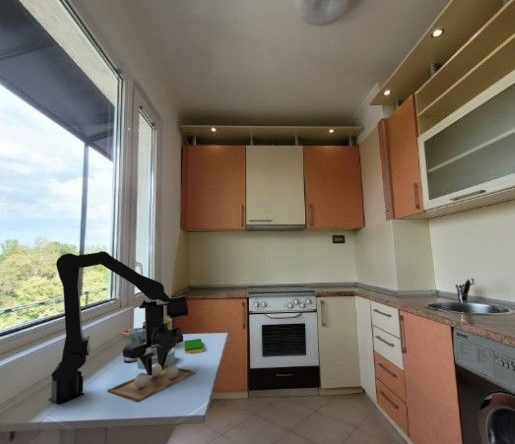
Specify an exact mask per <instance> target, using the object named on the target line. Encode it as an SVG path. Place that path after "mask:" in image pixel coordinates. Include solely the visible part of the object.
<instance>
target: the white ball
mask: <svg viewBox="0 0 515 444" xmlns="http://www.w3.org/2000/svg"><path fill="white" fill-rule="evenodd" d="M161 372H162V366H161V365H160V364H158V363H156V364H153V365H152V375H151V376H152V377H157V376H159V375H160V374H161Z"/></svg>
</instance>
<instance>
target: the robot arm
mask: <svg viewBox="0 0 515 444" xmlns="http://www.w3.org/2000/svg"><path fill="white" fill-rule="evenodd" d="M55 265H56V270H57V274H58V278H59V279H60V282H61V285H62V290H63V291H62V292H63V304H64V305H63V306H64V307H63V308H64V321H65V322H64V324H65V340H64V345H63V349H62V354H61V356H62V357H61V361H60V362H59V363H58V364H56V367H55V368H54V370H53V371H52V373H51V389H50V390H51V391H50V393H51V394H50V395H51V397H50V398H48V399H47V400H48V401H49V402H51V403H53V404H55V405H58V406H60V405H63V404H65V403H67V402H70V401H72V400H74V399H77V398H81V397H82V396H84V395H85V393H84V375H82V371H81V370H79V369H81V368H82V367H83V366H84V365H85V364H86V361H87V359H88V356H90V353H91V350H92V348H91V347H90V339H91V336H86V337H85V334H84V332H83V325H82V322H83V321H82V310H81V309H82V308H81V307H82V306H81V292H80V282H81V277H82V272H83V269H84V268H90V267H94V266H99V265H101V266H103V267H105V268H106V269H108V270H109V271H111V272H112V273H114V274H116V275H118V276H119V277H120V278H122V279H124V280H126V281H127V282H129V283H131V284H133V286H134V287H135V288H137V289H138V290H139V291H140V292H141V293H142V294H143V295H144V296H145V297H146V298H148V299H149V300H151V301H146V300H145V299H143V300H142V301H141V303H140V304H139V305H138V308H139V309H142V310H143V309H144V322H145V325H143V324H142V328H143V329H145V338H144V339H143V342H144V343H145V344H137V343H135V344H131V345H128V346H126V345H125V346H124V348H122V349H123V350H122V358H124V357H127V358H132V359H134V358H138V357H139V359H140V360H141V362H142V363H143V365H144V367H145V369H146V370H145V371H146V373H148V375H150V376H151V375H152V357H153V355H154V353H151V348H154V347H156V349H157V357H158V364H160V365H161V366H162V370H163V368H164V364H165V361H166V358H167V355H168V352H169V351H170V350H171V349H172V348H175V347H176V346H177V344H180V343H184V335H183V333H182V329H181V328H180V327H175V328H172V329H169V327H168V328H167V323H164V319H165V316H166V317H168V319H171V320H172V319H178V318H184V317H185V318H186V317H188V315H189V306H188V302H187V301H188V300H187V295H180V296H175V297H170V296H169V295H168V294H166V292H165V287H164V285H163V284H162V282H160V281H157V280H155V279H152V278H150V277H148V276H145V275H142V274H140V273H139V272H137V271H135V270H134V269H132V268H131V267H129V266H128V265H126V264H125V263H123V262H121V261H120V260H118V259H116V258H115V257H113V256H112V255H110V254H109V252H107V251H104V250H103V251H102V250H100V251H98V252H92V253H85V254H84V253H83V254H78V255H77V254H74V253H69V252H68V253H64V254H62V255H60V256H59V257H58V258H57V260H56V263H55ZM157 300H158V301H161V302H162V303H160V302H159V303H157ZM152 344H153V345H152ZM150 345H151V346H150Z"/></svg>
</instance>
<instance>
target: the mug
mask: <svg viewBox="0 0 515 444" xmlns="http://www.w3.org/2000/svg"><path fill="white" fill-rule="evenodd" d="M121 335H122V336H123V339H124V343H125V346H128V345H131V344H135V343H137V344H145V343H144V342H143V339H144V338H145V329H143V327H134V328H129V329H125V330H122V331H121ZM122 360H123V361H125V362H131V363H132V362H138V358H134V359H132V358H127V357H122Z"/></svg>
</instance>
